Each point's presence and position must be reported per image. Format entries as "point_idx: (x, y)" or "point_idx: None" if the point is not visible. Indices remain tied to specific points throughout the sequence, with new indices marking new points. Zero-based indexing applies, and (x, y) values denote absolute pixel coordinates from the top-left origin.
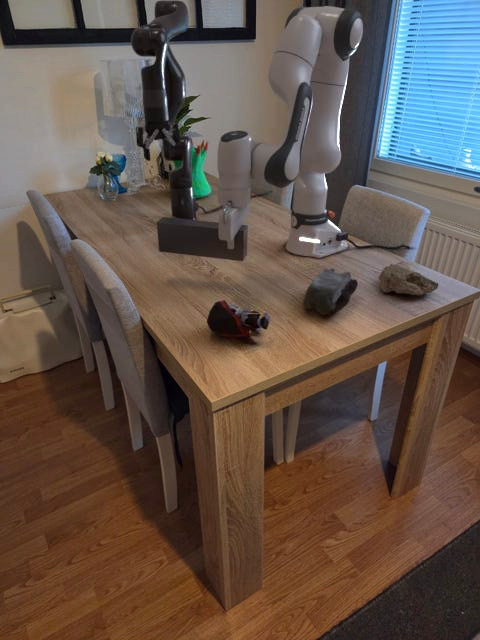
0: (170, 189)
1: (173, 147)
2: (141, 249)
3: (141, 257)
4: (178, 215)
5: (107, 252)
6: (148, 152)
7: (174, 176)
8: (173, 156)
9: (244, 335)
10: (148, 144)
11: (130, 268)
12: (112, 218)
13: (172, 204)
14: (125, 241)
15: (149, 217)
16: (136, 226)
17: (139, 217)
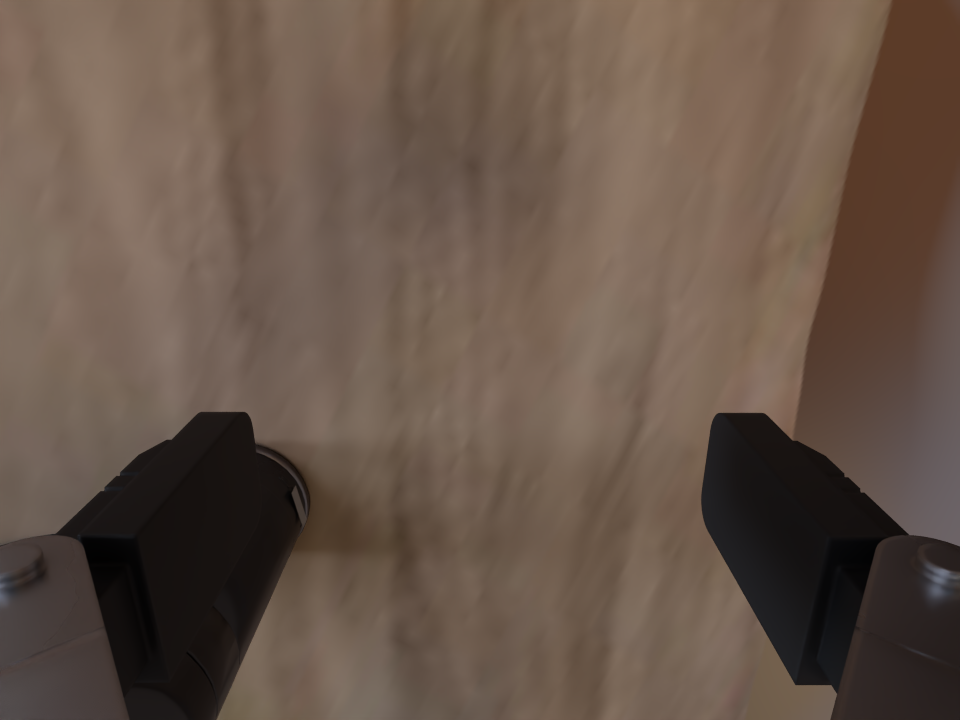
0: (244, 645)
1: (88, 540)
2: (632, 244)
3: (689, 135)
4: (275, 491)
5: (794, 307)
6: (822, 489)
7: (175, 690)
8: (209, 416)
9: None
10: (940, 619)
11: (818, 17)
12: (553, 694)
13: (276, 562)
14: (646, 395)
15: (389, 624)
16: (502, 548)
17: (434, 646)
